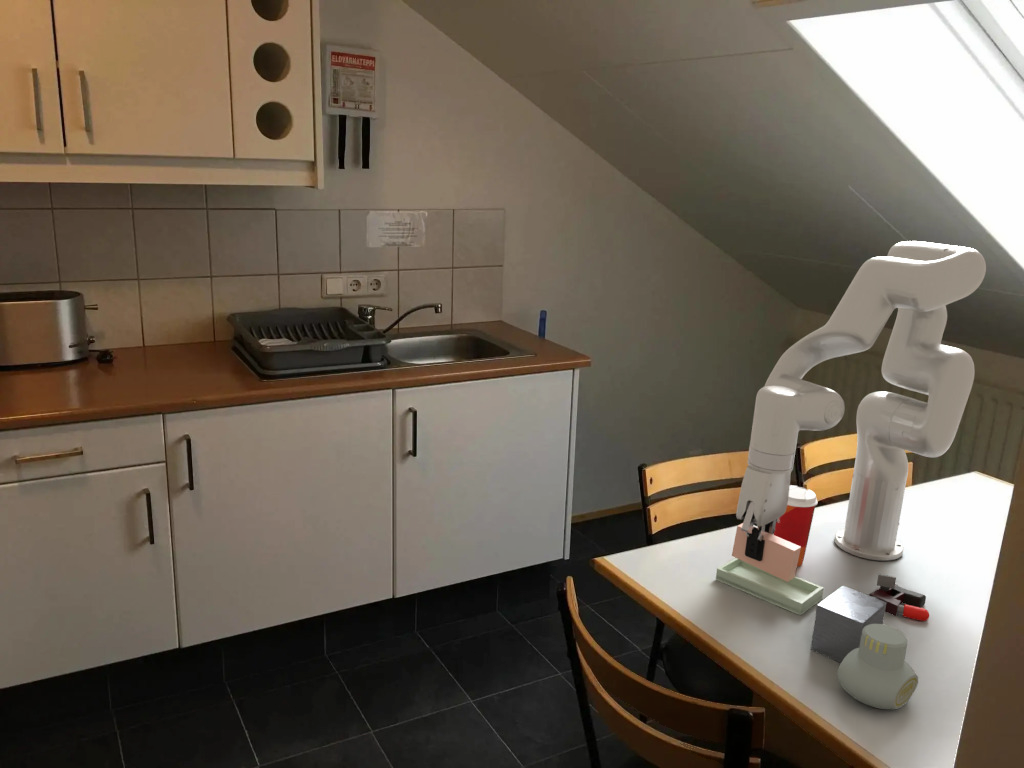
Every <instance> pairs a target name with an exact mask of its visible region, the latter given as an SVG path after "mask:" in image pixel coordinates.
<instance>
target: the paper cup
mask: <svg viewBox="0 0 1024 768" xmlns="http://www.w3.org/2000/svg"><path fill="white" fill-rule="evenodd" d="M817 505H818V499H817V495H816V493H815V492H814V491H813V490H812V489H807V488H806V487H802V486H798V485H792V484H790V488H789V497H788V503H787V508H786V512H785V513H784V514H783V515H782V516H781V517H779V518H778V519H777V523H776V526H775V532H774V534H773V535H775V536H777V537H780V538H782V539H784V540H787V541H789V542H791V543H793V544H796V545H798V546H800V547H801V550H800V554H799V559H798V563H797V568H799V567H800V566H801V567H802V565H803V562H804V558H805V555H806V551H807V547H808V541H809V536H810V531H811V529H812V528H811V527H812V523H813V518H814V513H815V507H816V506H817Z"/></svg>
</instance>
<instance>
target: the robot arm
mask: <svg viewBox="0 0 1024 768" xmlns="http://www.w3.org/2000/svg"><path fill="white" fill-rule="evenodd" d="M986 272H987V265H986V260H985V258H984V256H983V255H982V253H980V252H979V250H977V249H974V248H973V247H972V248H971V247H966V246H961V245H959V246H958V245H952V244H951V245H950V244H944V243H935V242H929V241H928V242H927V241H917V240H912V241H911V240H909V241H908V240H907V241H900V242H898V243H895V244H894V245H892V246H891V247H890V249H889V250H888V253H887V256H875V257H871V258H868V259H867V260H866V261H865V262H864V263H862V265H861V266H860V268H859V269H858V271H857V272H856V274H855V275H854V277H853V279H852V280H851V283H850V284H849V286H847V287H848V288H847V289H846V290H845V293H844V295H842V297H841V300H840V301H839V303H838V304H837V305H836V308H835V310H834V311H833V313H832V314H831V316H830V318H829V320H828V321H827V322H826V323H825V325H822V326H821V327H819V328H818V329H816V330H813V331H812V332H810V333H808V334H807V335H806V336H804V337H802V338H801V339H799V340H798V341H796V342H795V343H794V344H792V345H791V346H790V347H788V349H786V350H785V352H783V354H782V355H781V356H780V357H779V359H778V361H777V362H776V364H775V365H774V367H773V369H772V371H771V372H770V374H769V376H768V378H767V379H766V382H765V383H764V386H762V387H761V388H760V389H759V390H758V391H757V393H756V396H755V404H754V411H753V419H752V426H751V428H752V429H751V434H750V441H749V447H748V455H747V456H748V457H747V462H746V463H747V466H746V469H745V472H744V475H743V479H742V482H741V486H740V491H739V496H738V497H739V498H738V502H737V507H736V512H735V513H736V514H735V516H736V519H737V520H743V522H742V523H743V525H742V528H741V530H742V531H745V532H746V536H747V541H746V549H745V555H746V556H747V557H750V558H752V559H755V560H757V561H761V560H762V558H763V551H764V544H765V540H763V538H764V531H765V532H767V533H770V534H773V535H774V532H775V526H776V523H777V519H778V518H779V517H781V516H782V515H783V514H784V513H785V512H786V508H787V503H788V497H789V488H790V485H791V473H792V471H793V470H794V463H795V458H796V457H795V455H796V451H797V450H796V449H797V443H798V436H799V432H800V431H817V432H818V431H827V430H830V429H831V428H833V427H835V426H837V425H838V424H839V423H840V421H841V420H842V419H843V417H844V414H845V411H846V409H845V407H846V406H845V401H844V399H843V398H842V396H841V395H840V394H839V393H838V392H837V391H835V390H833V389H831V388H828V387H827V386H826V387H825V386H824V385H823V386H822V385H819V384H817V383H814V382H811V381H807V380H804V379H803V378H804V376H805V375H806V374H807V373H808V372H809V371H810V370H811V369H812V368H813V367H815V366H817V365H819V364H821V363H822V362H825V361H827V360H828V361H829V360H831V359H834V358H839V357H844V356H849V355H853V354H857V353H862V352H866V351H867V350H869V349H871V348H872V347H873V346H874V344H875V343H876V341H877V340H878V337H879V335H880V334H881V332H882V330H883V329H884V327H885V325H886V324H887V322H888V320H889V318H890V316H892V314H893V311H895V310H896V309H897V313H896V314H897V315H896V319H895V321H894V325H893V328H892V331H891V334H890V336H889V340H888V344H887V346H886V349H885V353H884V355H883V359H882V364H881V376H882V377H883V379H884V380H885V381H886V382H887V383H889V384H891V385H892V386H893V385H894V386H896V387H899V388H902V389H905V390H908V391H912V392H917V393H920V394H924V395H927V396H928V400H927V402H926V401H922V400H919V399H916V398H913V397H909V396H906V395H903V394H900V393H897V392H896V393H895V392H890V391H882V390H881V391H874V392H871V393H868V394H866V395H865V396H864V397H863V398H862V400H861V401H860V402H859V404H858V407H857V410H856V417H855V418H856V419H855V420H856V437H857V438H856V439H857V440H856V442H857V445H856V454H855V461H854V467H853V473H852V479H851V485H850V493H849V499H848V504H847V505H848V506H847V512H846V518H845V523H844V528H842V529H840V530H837V532H836V533H835V534H834V542H835V544H836V545H837V546H838V548H840V549H841V550H842V551H844V552H846V553H848V554H850V555H853V556H856V557H858V558H863V559H866V560H871V561H883V562H885V561H893V560H894V561H895V560H896V559H899V558H901V557H902V556H903V552H904V546H903V544H902V543H901V542H900V541H899V540H898V539H897V536H898V532H899V526H900V519H901V518H900V517H901V514H902V507H903V501H904V496H905V490H906V484H907V481H908V480H907V479H908V474H909V462H908V456H907V453H906V451H907V452H911V453H914V454H916V455H920V456H923V457H927V458H938V457H941V456H943V455H944V454H945V453H946V452H947V451H948V450H949V449H950V447H951V445H952V443H953V442H954V440H955V437H956V435H957V432H958V430H959V426H960V423H961V421H962V418H963V415H964V411H965V408H966V407H967V406H966V405H967V403H968V399H969V396H970V394H971V391H972V388H973V384H974V381H975V374H976V373H975V372H976V371H975V364H974V361H973V358H972V356H971V355H970V354H969V353H968V352H966V351H965V350H963V349H961V348H958V347H955V346H949V345H945V344H942V339H943V336H944V335H943V334H944V333H945V332H944V331H945V329H946V327H947V321H948V310H947V306H948V305H949V304H952V303H954V302H957V301H959V300H963V299H964V298H967V297H969V296H970V295H972V294H973V293H974V292H975V291H976V290H978V288H979V287H980V285H982V282H983V281H984V279H985V276H986ZM753 526H754V527H753ZM758 528H759V530H758Z"/></svg>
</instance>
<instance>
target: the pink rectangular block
mask: <svg viewBox="0 0 1024 768" xmlns="http://www.w3.org/2000/svg"><path fill="white" fill-rule="evenodd" d="M742 525H743V522H742V523H740V524H738V525H736V526H737V527H736V531H735V537H734V542H733V547H732V551H731V556H732V557H733V558H737V559H740V560H742V561H744V562H746V563H748V564H750V565H752V566H755V567H757V568H759V569H761V570H763V571H765V572H767V573H770V574H772V575H774V576H776V577H778V578H780V579H782V580H785V581H787V582H789V581H790V580H792V579H793V578H794V577H795V576H796V571H797V568H798V567H797V563H798V559H799V554H800V550H801V547H800V546H798V545H796V544H793V543H791V542H789V541H787V540H784V539H782V538H780V537H777V536H775V535H774V534H770V533H767V532H765V531H764V538H763V540H765V544H764V551H763V558H762V560H761V561H757V560H755V559H752V558H750V557H747V556H746V555H745V549H746V541H747V536H746V532H745V531H742V530H741V528H742ZM753 527H755V525H753ZM757 528H758V527H757ZM758 530H759V528H758Z"/></svg>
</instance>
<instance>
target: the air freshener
mask: <svg viewBox="0 0 1024 768" xmlns="http://www.w3.org/2000/svg"><path fill="white" fill-rule="evenodd" d="M907 647H908V638H907V636H906V635H905V634H904V633H903V632H902V631H901V630H899V629H897V628H895V627H894V626H891V625H887V624H885V623H883V624H870V625H867V626H865V627H864V628H863V630H862V636H861V641H860V647H859V648H856V649H854V650H852V651H851V652H850V653H849V654H847V656H846V657H845V658H844V659H843V661H842V662H841V663H840V664H839V666H838V668H837V672H836V676H837V679H838V682H839V683H840V685H841V686H842V688H843V689H844V690H845V692H846V693H848V695H850V696H851V697H853V698H854V699H855V700H856V701H859V702H860V703H863V704H864V705H866V706H869V707H872V708H877V709H882V710H896V709H897V710H898V709H901V708H902V707H903V706H905V705H906V704H907V702H909V700H910V699H912V696H913V695H914V693H915V691H916V689H917V686H918V684H919V676H918V674H917V673H916V671H915V670H914V668H913V667H912V666H911V665H910V664H909V663H908V662H907V661H906V660H905V659H906V653H907Z"/></svg>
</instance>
